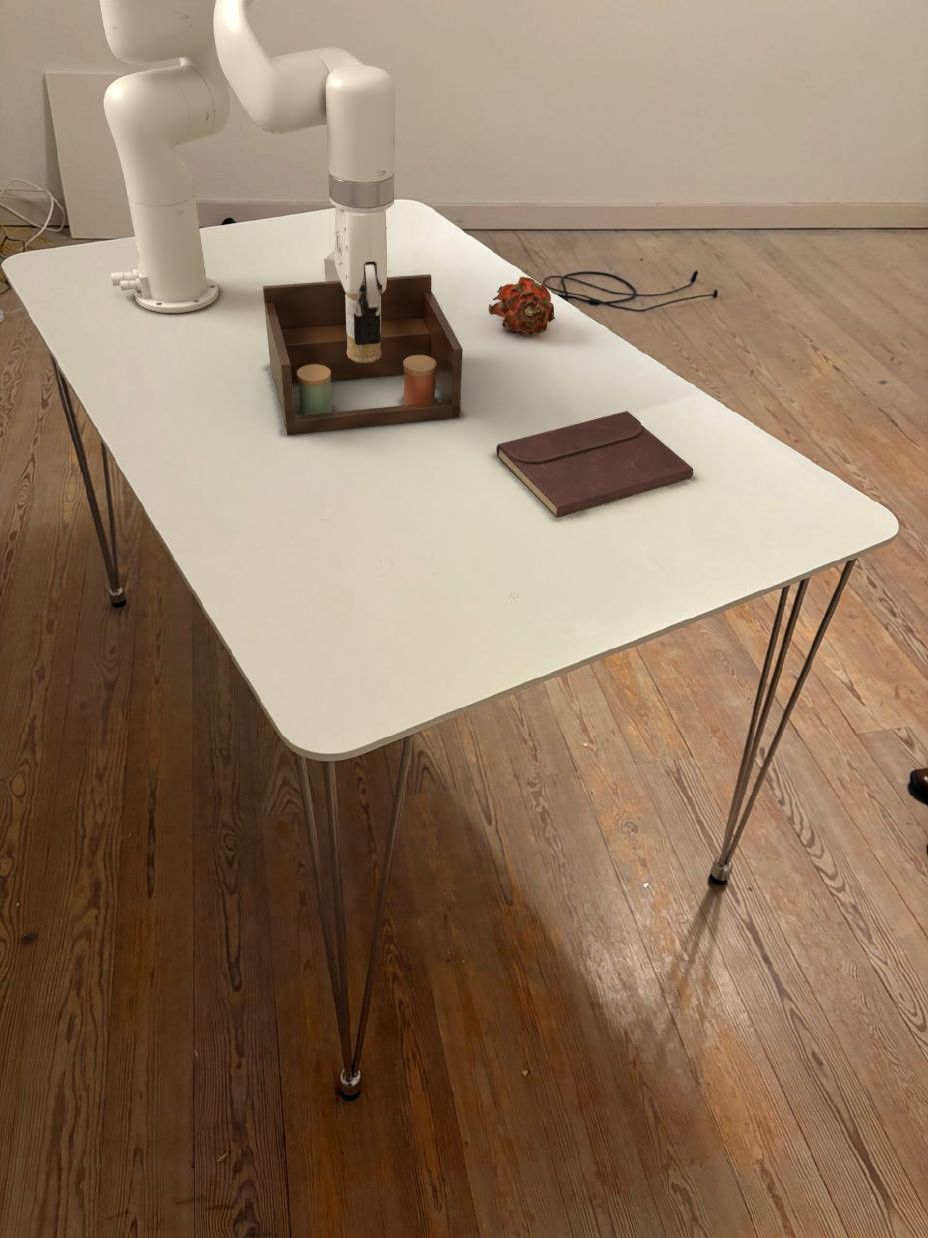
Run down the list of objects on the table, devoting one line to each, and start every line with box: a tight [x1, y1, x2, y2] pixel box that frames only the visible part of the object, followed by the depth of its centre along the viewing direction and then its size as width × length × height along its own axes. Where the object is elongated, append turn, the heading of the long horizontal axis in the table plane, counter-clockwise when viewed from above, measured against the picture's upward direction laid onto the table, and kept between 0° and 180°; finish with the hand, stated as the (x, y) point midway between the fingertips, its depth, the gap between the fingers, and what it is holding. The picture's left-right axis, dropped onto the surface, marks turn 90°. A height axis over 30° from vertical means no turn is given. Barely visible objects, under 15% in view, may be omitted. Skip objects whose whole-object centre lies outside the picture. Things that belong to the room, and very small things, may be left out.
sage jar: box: [297, 364, 333, 416], centre depth 133 cm, size 4×4×6 cm
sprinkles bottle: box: [346, 286, 381, 363], centre depth 127 cm, size 5×5×13 cm
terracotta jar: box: [403, 355, 436, 405], centre depth 136 cm, size 4×4×6 cm
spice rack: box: [262, 273, 464, 436], centre depth 135 cm, size 23×18×12 cm
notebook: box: [495, 410, 694, 519], centre depth 127 cm, size 15×20×2 cm
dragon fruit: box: [487, 276, 556, 337], centre depth 153 cm, size 8×8×12 cm
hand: (363, 332), depth 129 cm, fingers closed on sprinkles bottle, 4 cm apart
